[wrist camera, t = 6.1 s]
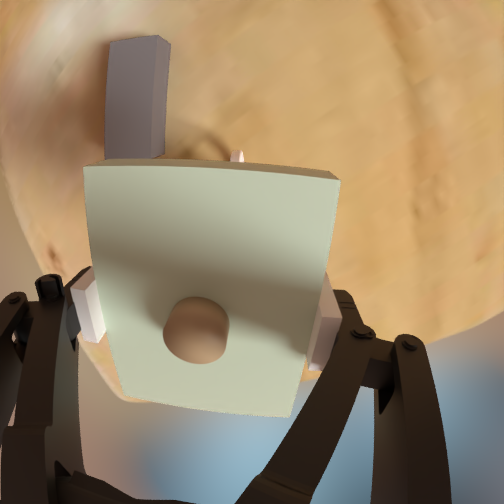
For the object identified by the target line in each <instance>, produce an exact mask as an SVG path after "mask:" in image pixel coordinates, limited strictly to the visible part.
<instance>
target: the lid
mask: <svg viewBox="0 0 504 504" xmlns="http://www.w3.org/2000/svg"><path fill="white" fill-rule="evenodd" d="M83 176H84V193H85V206H86V217H87V227H88V235H89V243H90V251H91V258H92V264H93V270H94V276H95V279H96V285H97V290H98V295H99V300H100V305H101V310H102V315H103V319H104V323H105V328H106V334H107V338H108V342H109V346H110V349H111V353H112V357H113V360H114V364H115V367H116V371H117V374H118V377H119V380H120V384H121V387H122V390H123V393H124V395H125V396H129V397H134V398H138V399H143V400H147V401H152V402H157V403H162V404H168V405H174V406H179V407H186V408H192V409H199V410H206V411H214V412H222V413H232V414H243V415H257V416H272V417H290V413H291V410H292V407H293V403H294V400H295V396H296V393H297V389H298V385H299V382H300V378H301V375H302V371H303V367H304V363H305V359H306V354H307V350H308V346H309V342H310V338H311V333H312V329H313V325H314V321H315V316H316V312H317V307H318V303H319V300H320V295H321V291H322V286H323V281H324V276H325V271H326V266H327V261H328V256H329V250H330V245H331V239H332V234H333V228H334V222H335V216H336V210H337V204H338V197H339V191H340V184H341V180H340V179H338V178H337V177H336V176H335V175H333V174H332V173H331V172H329V171H324V170H316V169H308V168H299V167H290V166H280V165H270V164H258V163H246V162H231V161H214V160H192V159H106V160H103V161H100V162H96V163H93V164H90V165H87V166H84V167H83Z"/></svg>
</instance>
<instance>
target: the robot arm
mask: <svg viewBox="0 0 504 504" xmlns="http://www.w3.org/2000/svg"><path fill="white" fill-rule="evenodd" d="M35 286H36V289H37V293H38V296H39V301H32V302H31V301H28V300H27V297H26V294H25V293H24V292H14V293H11V294H9V295H8V296H6V297H5V298H4V299H3V301H2V302H1V303H0V448H1V445H2V452H1V500H0V504H194V503H189V502H183V501H177V500H141V499H135V498H132V497H131V496H129V495H127V494H125V493H123V492H122V491H120V490H118V489H116V488H114V487H113V486H111V485H110V484H108V483H106V482H105V481H102V480H99V479H97V478H94V477H91V476H88V475H87V474H86V472H85V469H84V465H83V457H82V449H81V437H80V424H79V404H78V350H79V342H78V338H77V335H78V333H79V332H80V331H81V332H82V335H83V339H84V340H85V341H89V342H94V343H98V342H99V341H100V339H101V338H102V336H103V335H104V333H105V332H106V328H105V323H104V319H103V315H102V310H101V305H100V300H99V295H98V290H97V285H96V279H95V276H94V270H93V266H89V267H87V268H85V269H83V270H81V271H80V272H79V273H78V274H77V275H76V276H75V277H74V278H73V279H72V280H71V281H70V282H68V283H67V284H66V285H65V286H64V287H63V283H62V278H61V276H60V275H57V274H47V275H44V276H42V277H40V278H38V279H37V280H36V281H35ZM354 303H355V302H354V300H353V298H352V296H351V295H350V294H349V293H348V292H347V291H346V290H334V289H332V287H331V284H330V281H329V278H328V276H327V273H326V271H325V276H324V281H323V286H322V291H321V295H320V300H319V303H318V307H317V312H316V316H315V321H314V325H313V329H312V333H311V338H310V342H309V346H308V350H307V354H306V357H307V364H308V370H313V371H322V373H321V375H320V377H319V379H318V381H317V382H316V384H315V386H314V388H313V390H312V392H311V393H310V395H309V397H308V399H307V400H306V402H305V404H304V406H303V408H302V409H301V411H300V413H299V414H298V416H297V418H296V420H295V421H294V423H293V424H292V426H291V428H290V429H289V431H288V433H287V434H286V436H285V437H284V439H283V441H282V442H281V444H280V445H279V447H278V448H277V450H276V452H275V453H274V455H273V456H272V458H271V459H270V461H269V462H268V464H267V465H266V467H265V468H264V469H263V471H262V472H261V473H260V474H259V475H257V476H256V477H255V478H254V479H253V480H252V481H251V483H250V484H249V485H248V487H247V488H246V489H245V491H244V492H243V493H242V495H241V496H240V497H239V499H238V500H237V501H236V503H235V504H310V502H311V499H312V496H313V493H314V491H315V489H316V487H317V485H318V483H319V482H320V479H321V478H322V475H323V474H324V471H325V469H326V467H327V465H328V463H329V461H330V459H331V457H332V455H333V452H334V450H335V448H336V446H337V443H338V441H339V439H340V437H341V434H342V432H343V430H344V427H345V425H346V422H347V419H348V417H349V415H350V412H351V410H352V407H353V405H354V402H355V399H356V396H357V394H358V391H359V388H360V386H364V387H369V388H373V389H374V459H373V477H372V491H371V502H370V504H452V500H451V486H450V474H449V465H448V457H447V449H446V442H445V436H444V430H443V424H442V418H441V413H440V408H439V403H438V398H437V393H436V389H435V384H434V380H433V376H432V372H431V368H430V364H429V360H428V356H427V353H426V349H425V346H424V344H423V342H422V341H421V340H420V339H419V338H417V337H415V336H413V335H409V334H401V335H398V336H397V337H396V338H395V341H394V342H390V341H385V340H381V339H378V338H376V334H375V332H374V330H373V329H371V328H370V327H369V326H366V325H364V324H363V321H362V319H361V317H360V314H359V312H358V309H357V307H356V305H355V304H354ZM13 333H14V335H15V337H16V339H15V341H14V342H13V341H12V334H13ZM15 404H16V410H15V419H14V425H13V426H8V423H9V421H10V418H11V415H12V412H13V410H14V407H15Z"/></svg>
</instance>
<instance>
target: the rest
mask: <svg viewBox="0 0 504 504" xmlns="http://www.w3.org/2000/svg"><path fill="white" fill-rule="evenodd" d="M170 49H171V44H170V43H168V42H167V41H166V40H164V39H163V38H162V37H160V36H159V35H154V36H146V37H138V38H132V39H125V40H119V41H114V42H110V50H109V59H108V70H107V83H106V99H105V137H104V144H105V160H106V159H152V158H155V157H158V156H160V155H163V154H165V121H166V101H167V85H168V72H169V60H170Z"/></svg>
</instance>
